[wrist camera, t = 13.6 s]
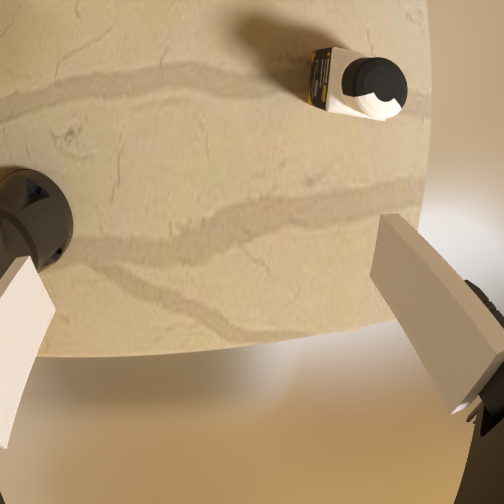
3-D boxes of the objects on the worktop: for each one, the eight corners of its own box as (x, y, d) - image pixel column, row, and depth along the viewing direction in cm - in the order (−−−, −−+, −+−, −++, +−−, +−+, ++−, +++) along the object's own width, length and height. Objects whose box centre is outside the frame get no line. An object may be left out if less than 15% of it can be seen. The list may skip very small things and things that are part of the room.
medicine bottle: (312, 49, 31) (354, 43, 21) (365, 60, 32) (420, 63, 21) (306, 104, 34) (345, 119, 24) (358, 112, 35) (410, 131, 25)
